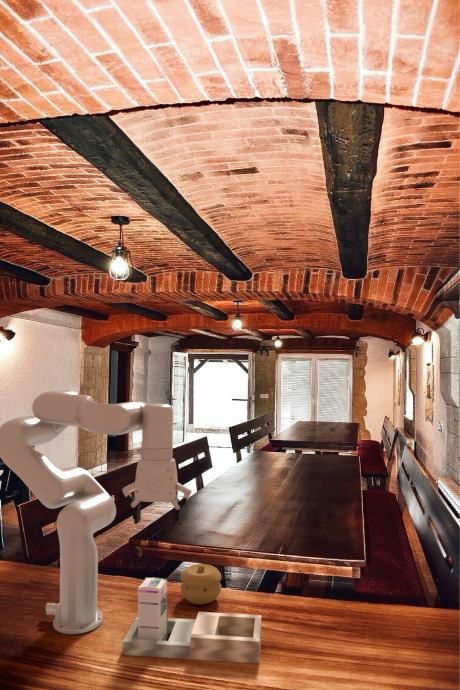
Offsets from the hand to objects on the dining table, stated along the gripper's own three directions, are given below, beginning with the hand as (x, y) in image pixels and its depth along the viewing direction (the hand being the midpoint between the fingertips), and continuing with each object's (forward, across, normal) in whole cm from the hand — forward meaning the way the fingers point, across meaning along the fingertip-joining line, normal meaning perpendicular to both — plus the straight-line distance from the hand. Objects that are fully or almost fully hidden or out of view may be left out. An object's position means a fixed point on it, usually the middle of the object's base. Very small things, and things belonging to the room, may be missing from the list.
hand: (156, 523), depth 128 cm
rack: (+29, +10, -1) cm, 30 cm away
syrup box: (+29, 0, -1) cm, 29 cm away
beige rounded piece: (+29, +8, +22) cm, 37 cm away
